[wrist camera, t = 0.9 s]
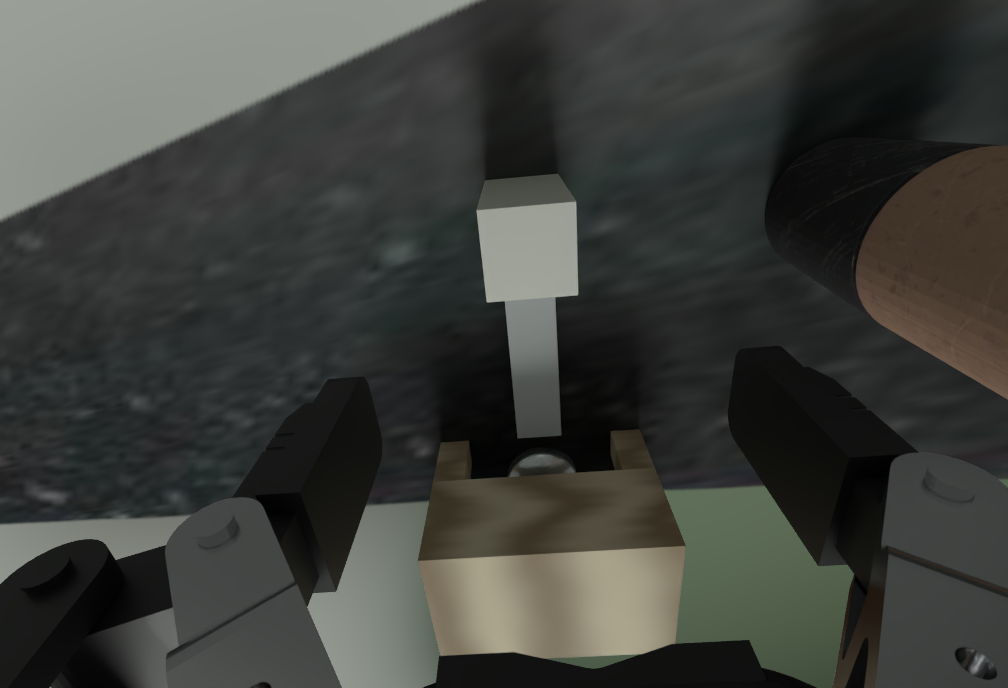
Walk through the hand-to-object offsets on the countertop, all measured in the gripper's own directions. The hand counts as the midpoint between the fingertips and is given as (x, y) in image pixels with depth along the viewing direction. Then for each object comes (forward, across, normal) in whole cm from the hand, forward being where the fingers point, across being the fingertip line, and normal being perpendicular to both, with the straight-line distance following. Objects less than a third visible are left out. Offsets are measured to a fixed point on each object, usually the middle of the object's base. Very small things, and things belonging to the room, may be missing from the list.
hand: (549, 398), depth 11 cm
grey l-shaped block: (+19, 0, +6) cm, 20 cm away
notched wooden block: (+19, 0, +20) cm, 28 cm away
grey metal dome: (+19, 0, +19) cm, 27 cm away
